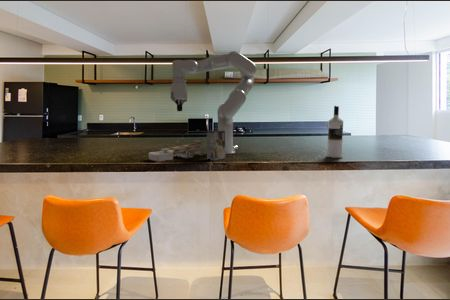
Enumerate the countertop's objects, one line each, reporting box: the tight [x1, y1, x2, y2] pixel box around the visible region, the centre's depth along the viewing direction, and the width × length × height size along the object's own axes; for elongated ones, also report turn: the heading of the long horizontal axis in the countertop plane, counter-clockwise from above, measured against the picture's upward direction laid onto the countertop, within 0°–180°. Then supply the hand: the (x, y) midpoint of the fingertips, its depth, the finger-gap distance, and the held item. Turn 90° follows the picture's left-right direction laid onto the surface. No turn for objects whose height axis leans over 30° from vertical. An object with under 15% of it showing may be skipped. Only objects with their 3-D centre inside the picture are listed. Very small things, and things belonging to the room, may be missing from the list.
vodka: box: [325, 105, 344, 159], centre depth 179 cm, size 9×9×30 cm
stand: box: [164, 150, 203, 159], centre depth 187 cm, size 21×17×4 cm
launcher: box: [160, 140, 203, 154], centre depth 187 cm, size 21×14×4 cm
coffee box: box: [206, 130, 226, 161], centre depth 175 cm, size 9×6×16 cm
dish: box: [148, 150, 174, 163], centre depth 174 cm, size 10×10×4 cm
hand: (179, 111), depth 191 cm, fingers closed
